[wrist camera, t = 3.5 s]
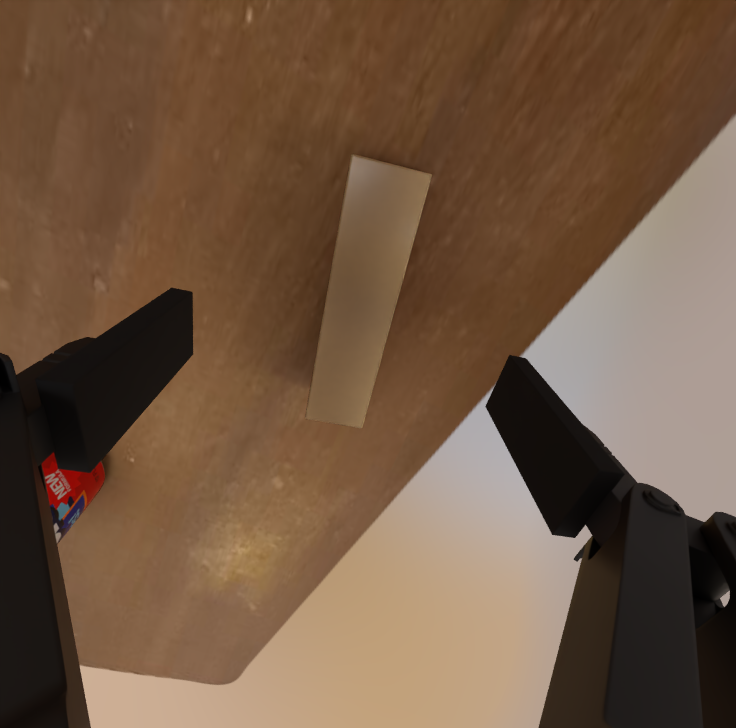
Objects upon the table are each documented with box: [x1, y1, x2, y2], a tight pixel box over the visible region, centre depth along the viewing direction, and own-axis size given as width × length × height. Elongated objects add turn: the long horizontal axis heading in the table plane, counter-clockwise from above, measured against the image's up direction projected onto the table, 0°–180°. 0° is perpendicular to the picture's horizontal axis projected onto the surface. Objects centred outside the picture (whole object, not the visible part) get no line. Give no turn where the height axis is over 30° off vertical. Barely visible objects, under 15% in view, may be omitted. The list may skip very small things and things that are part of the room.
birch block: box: [305, 154, 432, 428], centre depth 20 cm, size 4×14×4 cm, turn 167°
